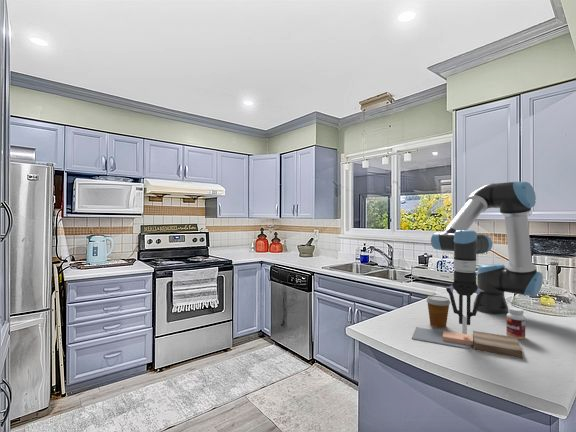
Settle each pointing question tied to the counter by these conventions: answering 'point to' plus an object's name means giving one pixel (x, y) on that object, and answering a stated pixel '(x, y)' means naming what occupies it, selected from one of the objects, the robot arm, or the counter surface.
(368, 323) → the counter surface
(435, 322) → the disposable coffee cup
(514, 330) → the pill bottle
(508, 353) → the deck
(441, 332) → the mat
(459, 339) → the card
